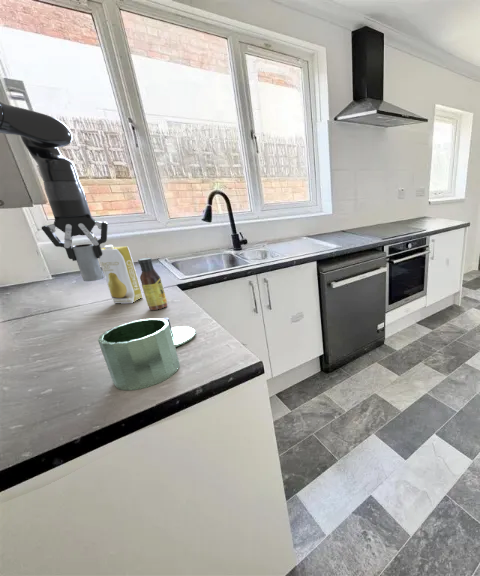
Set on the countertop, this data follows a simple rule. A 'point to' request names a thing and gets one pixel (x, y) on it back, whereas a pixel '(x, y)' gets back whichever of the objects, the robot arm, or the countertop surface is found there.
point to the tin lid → (181, 334)
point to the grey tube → (87, 262)
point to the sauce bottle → (152, 285)
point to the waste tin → (139, 353)
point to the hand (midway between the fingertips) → (87, 258)
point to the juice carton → (120, 274)
